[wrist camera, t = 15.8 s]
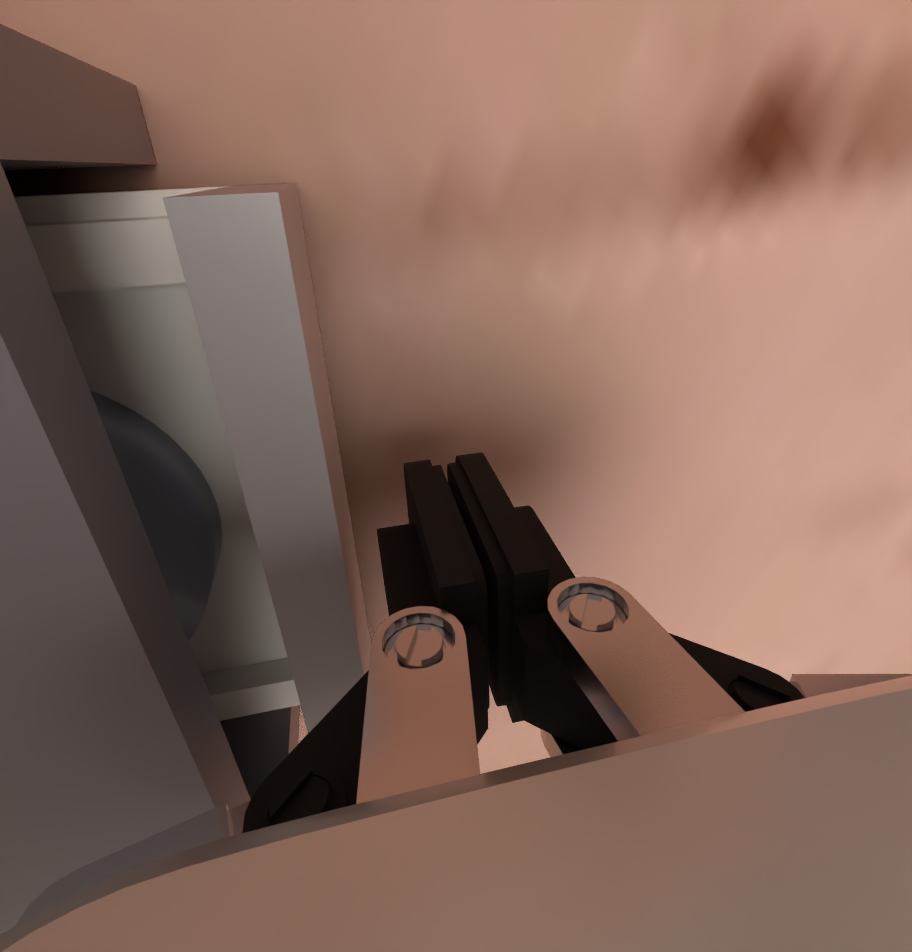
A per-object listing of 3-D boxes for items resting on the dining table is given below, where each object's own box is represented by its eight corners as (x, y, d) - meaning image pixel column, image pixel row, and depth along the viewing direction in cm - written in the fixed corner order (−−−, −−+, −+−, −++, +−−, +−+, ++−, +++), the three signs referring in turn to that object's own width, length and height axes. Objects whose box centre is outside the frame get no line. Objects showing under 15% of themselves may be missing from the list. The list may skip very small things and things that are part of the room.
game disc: (-52, 673, 13) (-96, 734, 12) (-257, 397, 10) (-356, 436, 8) (253, 617, 14) (246, 667, 13) (169, 352, 11) (146, 380, 9)
